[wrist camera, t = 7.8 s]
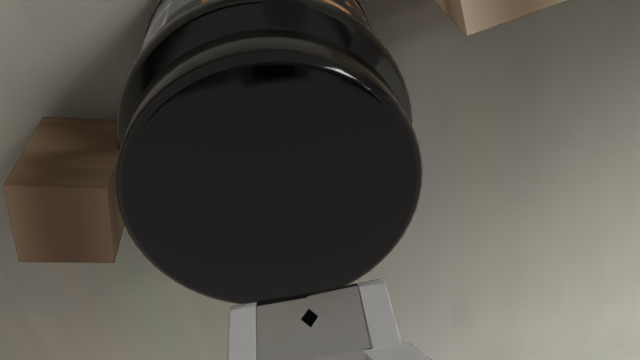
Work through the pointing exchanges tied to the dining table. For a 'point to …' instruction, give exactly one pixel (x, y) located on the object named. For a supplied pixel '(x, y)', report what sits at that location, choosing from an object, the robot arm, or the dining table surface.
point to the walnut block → (66, 193)
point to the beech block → (489, 12)
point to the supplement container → (265, 147)
